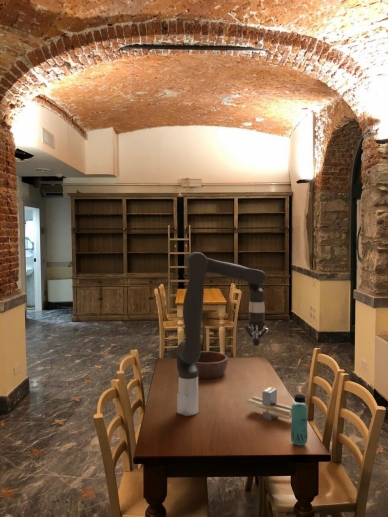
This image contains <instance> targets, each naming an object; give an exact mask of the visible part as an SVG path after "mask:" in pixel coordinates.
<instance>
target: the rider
mask: <svg viewBox="0 0 388 517" xmlns="http://www.w3.org/2000/svg"><path fill="white" fill-rule="evenodd" d="M277 390H278V389H277V388H274V387H271V386H269V387H267V388H265V389H263V390H262V394H261V395H262V397H261V398H262V404H265V405H268V406H271V405H272V406H274V403H276V402H277V401H278V400H277V399H278V398H277V396H278V391H277ZM277 403H278V402H277Z"/></svg>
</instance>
